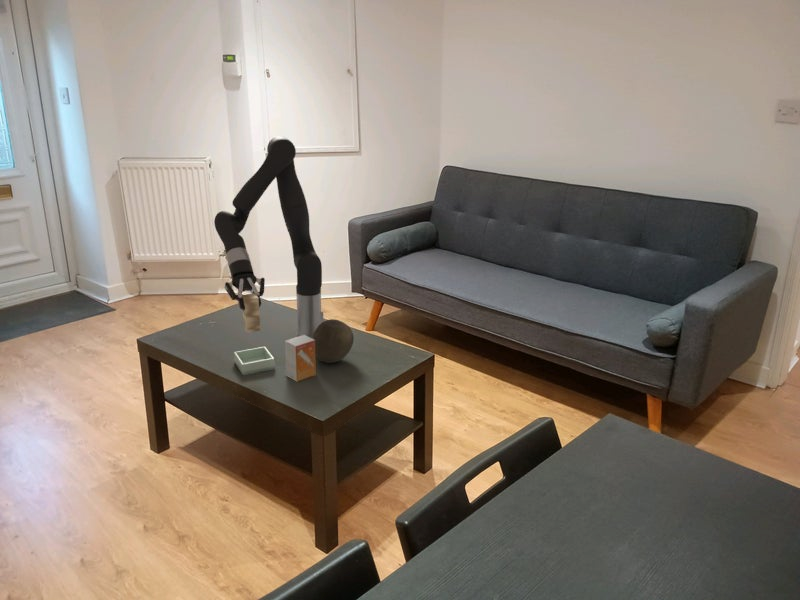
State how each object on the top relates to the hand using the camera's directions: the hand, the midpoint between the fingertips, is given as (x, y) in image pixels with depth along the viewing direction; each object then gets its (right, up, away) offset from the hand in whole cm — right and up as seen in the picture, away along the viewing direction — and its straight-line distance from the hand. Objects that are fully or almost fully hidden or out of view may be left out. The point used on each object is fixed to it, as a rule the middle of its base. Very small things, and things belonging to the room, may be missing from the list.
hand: (251, 308), depth 224 cm
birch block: (-1, -7, +4) cm, 8 cm away
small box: (+16, -23, +2) cm, 28 cm away
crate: (-1, -20, +8) cm, 22 cm away
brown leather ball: (+26, -19, +13) cm, 35 cm away
